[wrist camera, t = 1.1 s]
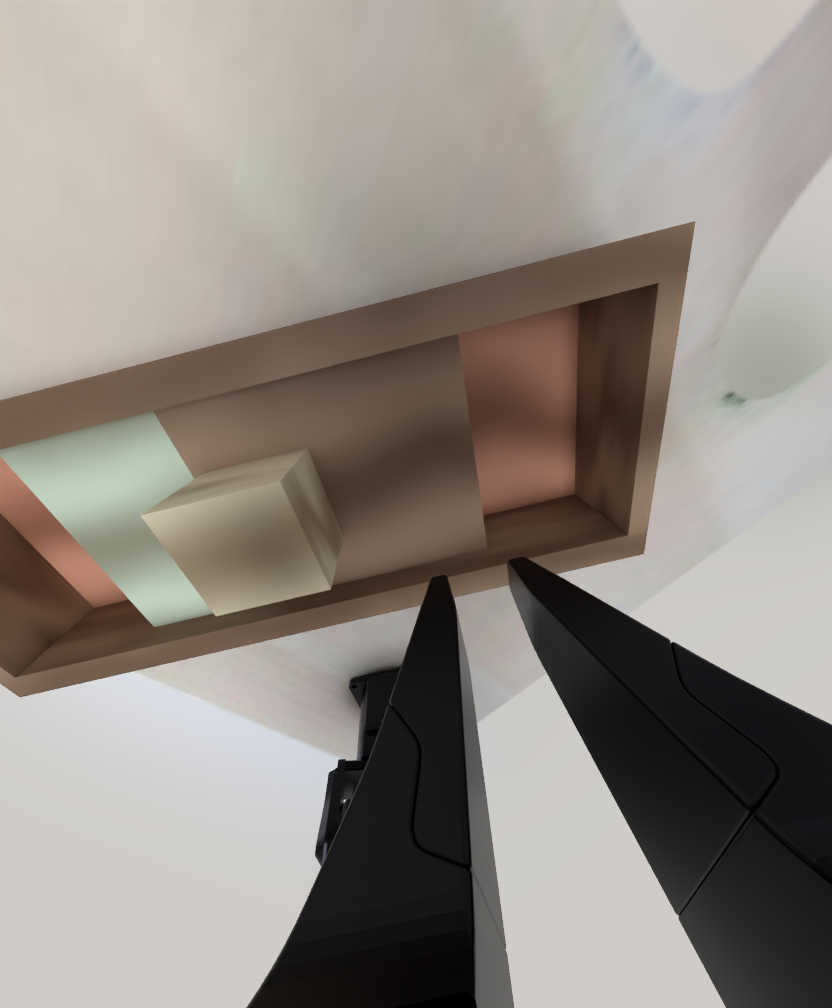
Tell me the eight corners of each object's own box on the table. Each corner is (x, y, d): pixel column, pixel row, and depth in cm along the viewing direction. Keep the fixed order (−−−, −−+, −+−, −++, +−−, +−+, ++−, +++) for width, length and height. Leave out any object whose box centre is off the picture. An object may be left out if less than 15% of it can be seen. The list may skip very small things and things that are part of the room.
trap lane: (585, 507, 21) (643, 553, 17) (100, 621, 22) (19, 697, 17) (594, 263, 15) (695, 221, 10) (-85, 437, 16) (-294, 476, 11)
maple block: (343, 536, 16) (330, 589, 13) (253, 558, 16) (215, 616, 13) (307, 447, 14) (279, 481, 10) (202, 473, 14) (140, 515, 10)
